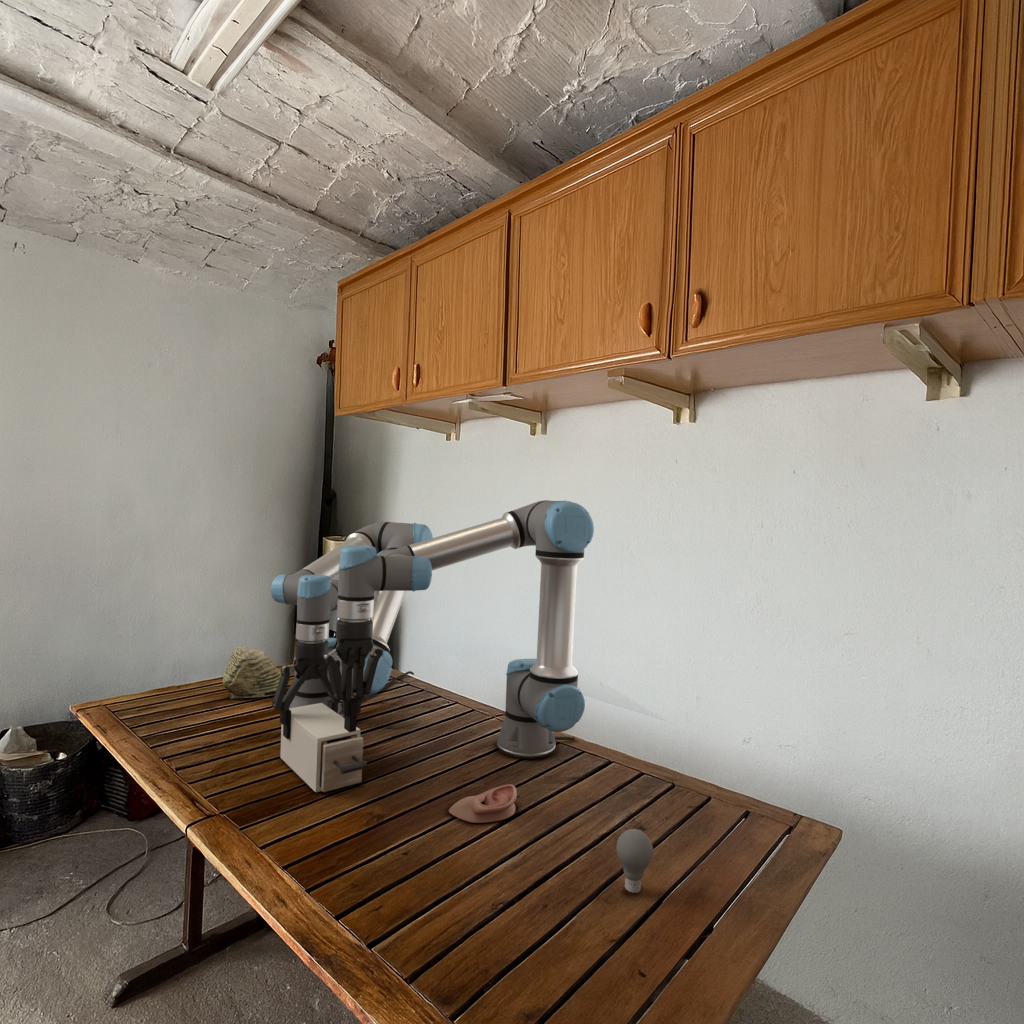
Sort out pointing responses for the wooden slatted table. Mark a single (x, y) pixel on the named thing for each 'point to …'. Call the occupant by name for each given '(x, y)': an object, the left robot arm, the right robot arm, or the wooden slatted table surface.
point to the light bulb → (634, 857)
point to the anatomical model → (487, 805)
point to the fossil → (251, 674)
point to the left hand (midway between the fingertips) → (308, 732)
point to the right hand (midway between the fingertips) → (350, 729)
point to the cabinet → (311, 740)
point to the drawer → (341, 762)
